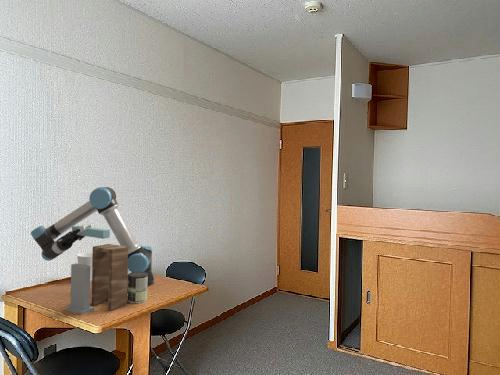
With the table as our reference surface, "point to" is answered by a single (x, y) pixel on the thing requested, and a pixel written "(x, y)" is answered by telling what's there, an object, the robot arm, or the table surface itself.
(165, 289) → the table surface
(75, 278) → the pedestal
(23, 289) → the table surface
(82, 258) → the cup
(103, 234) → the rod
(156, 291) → the table surface
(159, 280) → the table surface
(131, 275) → the coffee can
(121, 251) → the walnut wood block
